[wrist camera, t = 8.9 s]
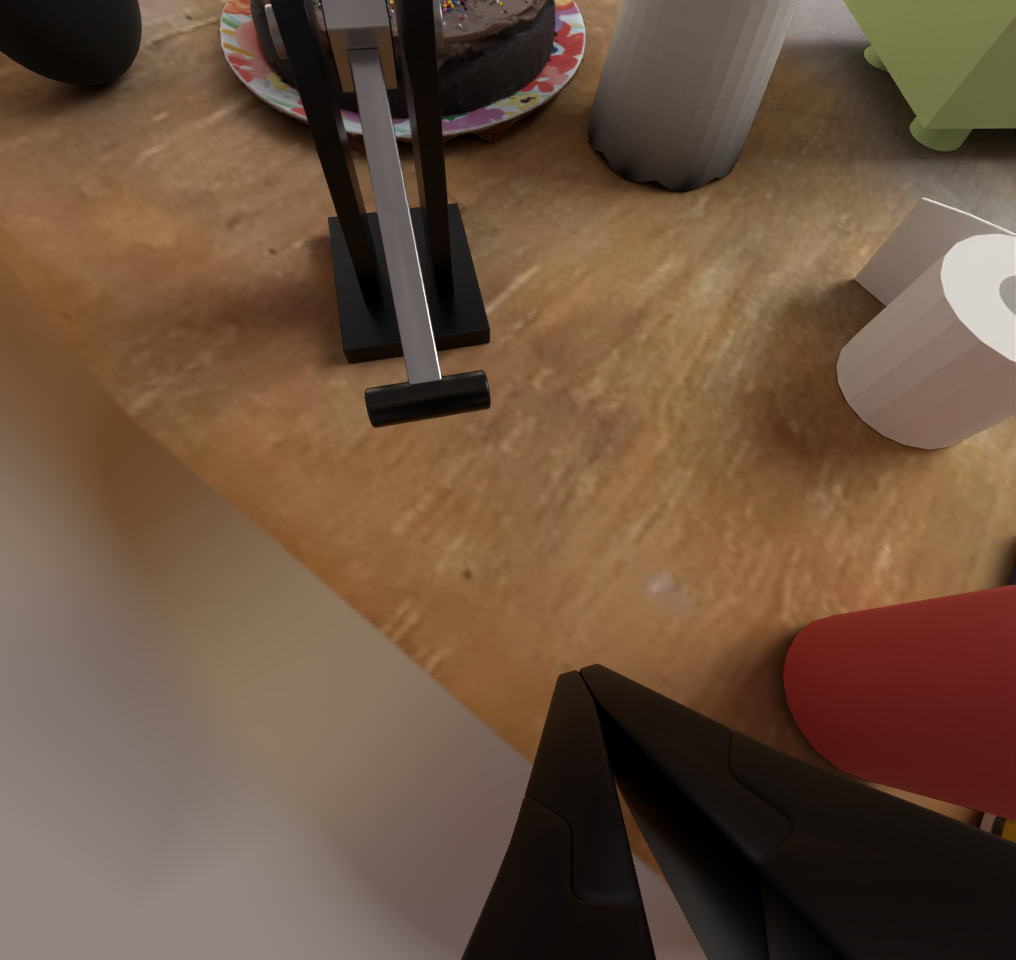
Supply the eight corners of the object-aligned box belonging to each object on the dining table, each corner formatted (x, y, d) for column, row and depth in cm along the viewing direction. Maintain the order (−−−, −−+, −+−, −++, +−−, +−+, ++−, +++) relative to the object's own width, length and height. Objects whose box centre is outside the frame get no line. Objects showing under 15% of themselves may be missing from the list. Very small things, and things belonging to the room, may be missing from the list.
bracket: (489, 343, 28) (497, 38, 14) (349, 364, 27) (217, 58, 13) (458, 219, 31) (441, -116, 18) (333, 233, 30) (216, -110, 17)
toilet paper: (855, 277, 31) (952, 174, 25) (1006, 403, 28) (1162, 322, 21) (769, 333, 29) (851, 236, 23) (921, 476, 26) (1067, 410, 19)
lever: (488, 416, 18) (493, 398, 15) (378, 435, 17) (365, 419, 15) (409, 23, 19) (403, -49, 17) (306, 30, 18) (283, -45, 16)
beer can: (931, 794, 20) (1487, 943, 9) (775, 758, 20) (1129, 858, 9) (914, 634, 23) (1332, 594, 11) (775, 603, 23) (1053, 534, 12)
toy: (557, 143, 35) (608, -215, 21) (636, 73, 38) (725, -270, 24) (693, 215, 32) (851, -128, 19) (763, 134, 36) (939, -204, 22)
